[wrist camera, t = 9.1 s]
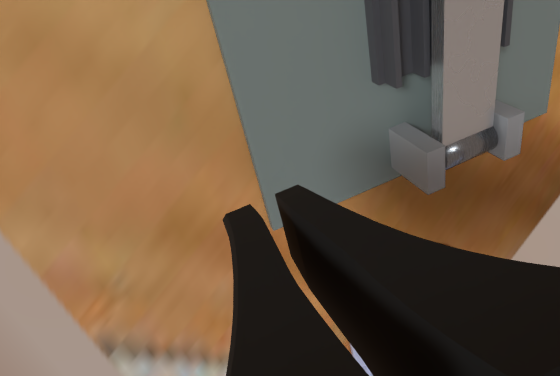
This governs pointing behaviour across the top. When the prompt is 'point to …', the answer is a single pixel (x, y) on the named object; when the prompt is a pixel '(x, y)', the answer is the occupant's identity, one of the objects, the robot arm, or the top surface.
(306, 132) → the clip base
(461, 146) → the strap
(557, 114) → the top surface
